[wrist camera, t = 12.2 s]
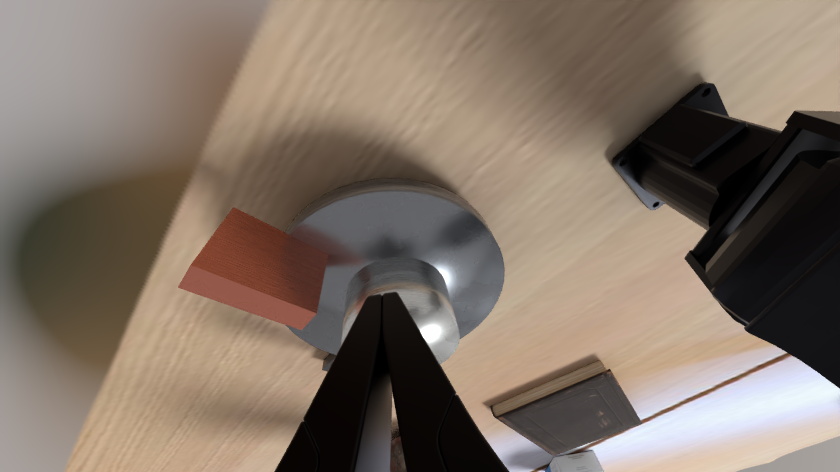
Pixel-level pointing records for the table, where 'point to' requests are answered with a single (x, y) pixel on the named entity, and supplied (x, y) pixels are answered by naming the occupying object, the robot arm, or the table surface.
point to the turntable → (349, 256)
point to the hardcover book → (570, 410)
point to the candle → (397, 456)
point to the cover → (408, 299)
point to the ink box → (575, 463)
